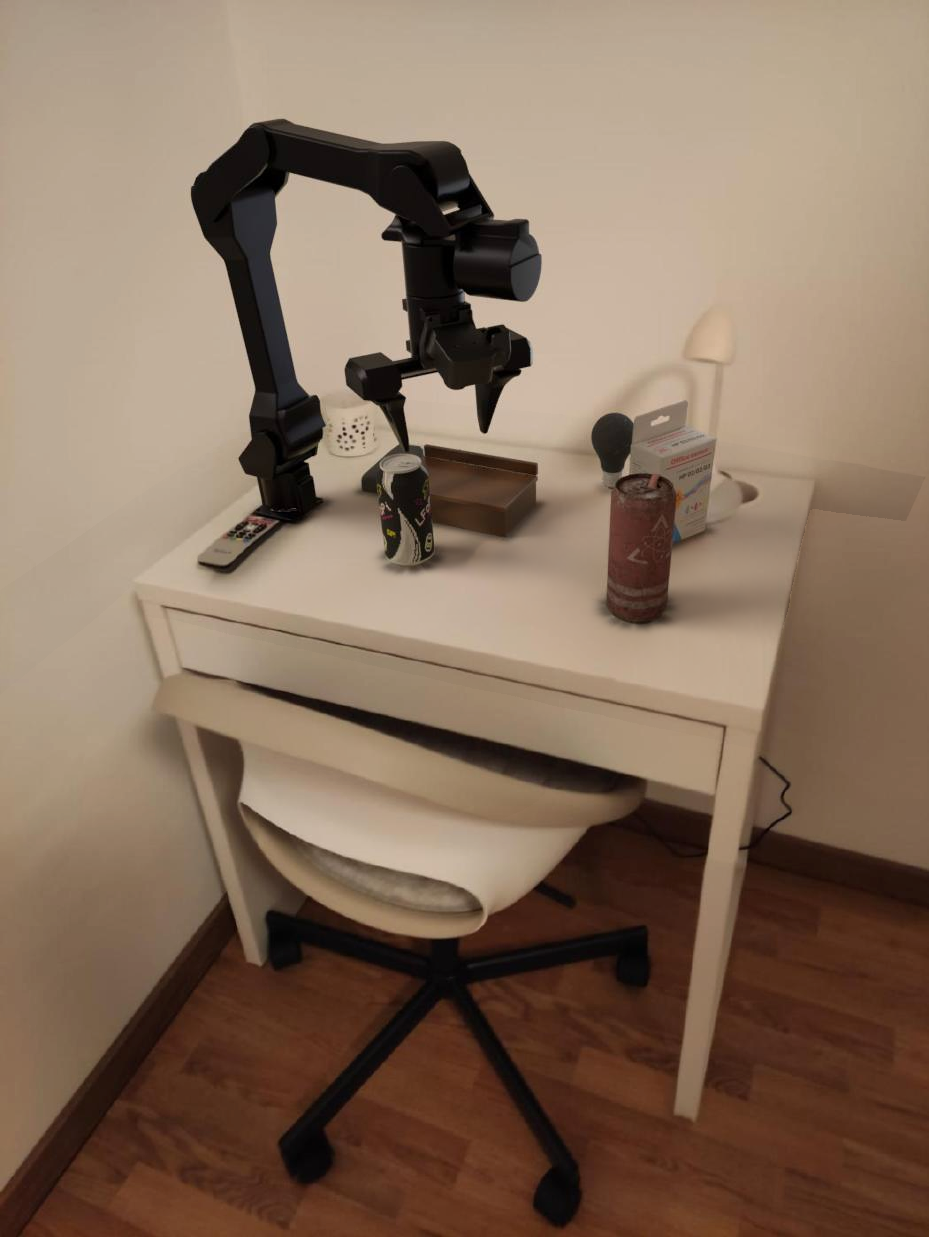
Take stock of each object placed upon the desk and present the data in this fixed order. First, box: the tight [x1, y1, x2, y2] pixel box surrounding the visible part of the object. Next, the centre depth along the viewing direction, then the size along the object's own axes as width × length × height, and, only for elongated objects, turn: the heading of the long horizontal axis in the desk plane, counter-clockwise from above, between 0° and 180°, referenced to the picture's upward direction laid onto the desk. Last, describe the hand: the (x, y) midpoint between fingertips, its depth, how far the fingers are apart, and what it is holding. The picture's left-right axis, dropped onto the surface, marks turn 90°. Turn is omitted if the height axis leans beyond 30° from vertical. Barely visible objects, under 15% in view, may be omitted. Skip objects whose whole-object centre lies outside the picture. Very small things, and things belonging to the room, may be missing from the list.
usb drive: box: [360, 442, 425, 494], centre depth 120 cm, size 5×12×3 cm, turn 158°
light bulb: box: [590, 412, 634, 490], centre depth 111 cm, size 6×6×10 cm
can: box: [605, 473, 677, 624], centre depth 87 cm, size 6×6×14 cm
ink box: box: [628, 399, 717, 544], centre depth 99 cm, size 8×5×15 cm, turn 123°
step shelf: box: [421, 443, 539, 538], centre depth 110 cm, size 16×10×6 cm, turn 62°
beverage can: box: [376, 454, 436, 567], centre depth 98 cm, size 6×6×12 cm
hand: (445, 441), depth 94 cm, fingers open, 9 cm apart
